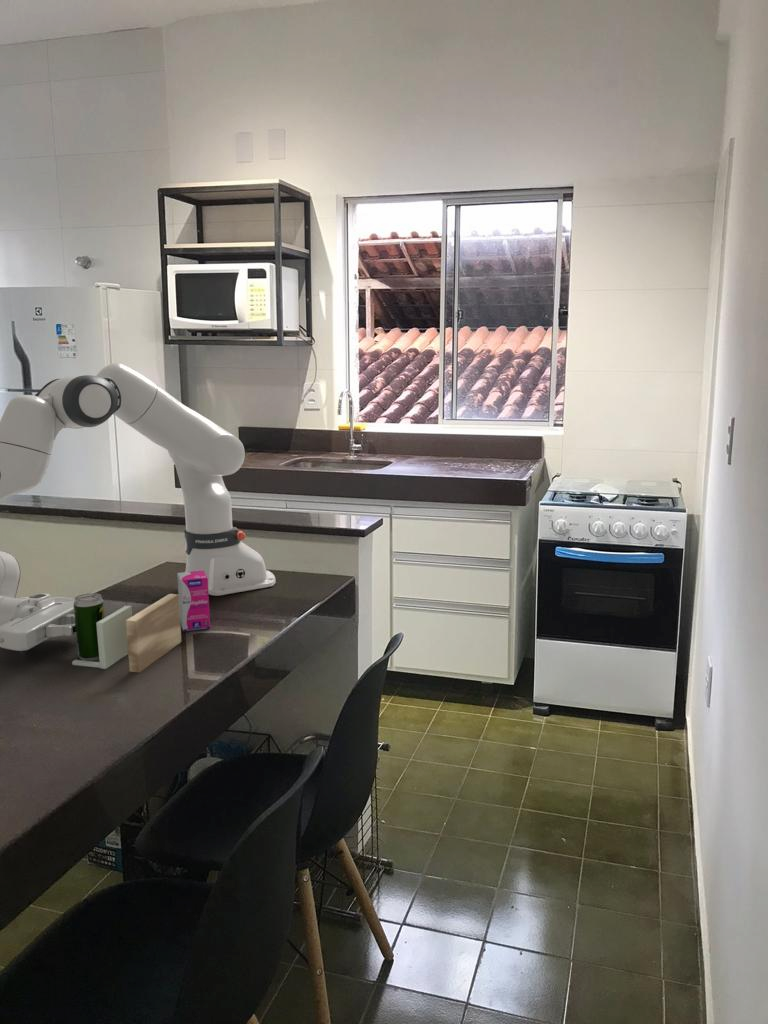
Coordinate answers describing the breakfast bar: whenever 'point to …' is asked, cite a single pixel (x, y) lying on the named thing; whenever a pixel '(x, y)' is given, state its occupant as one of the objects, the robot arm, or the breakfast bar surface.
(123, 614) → the white legged plate
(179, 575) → the supplement box
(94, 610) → the beer can
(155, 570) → the breakfast bar surface
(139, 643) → the oak board
